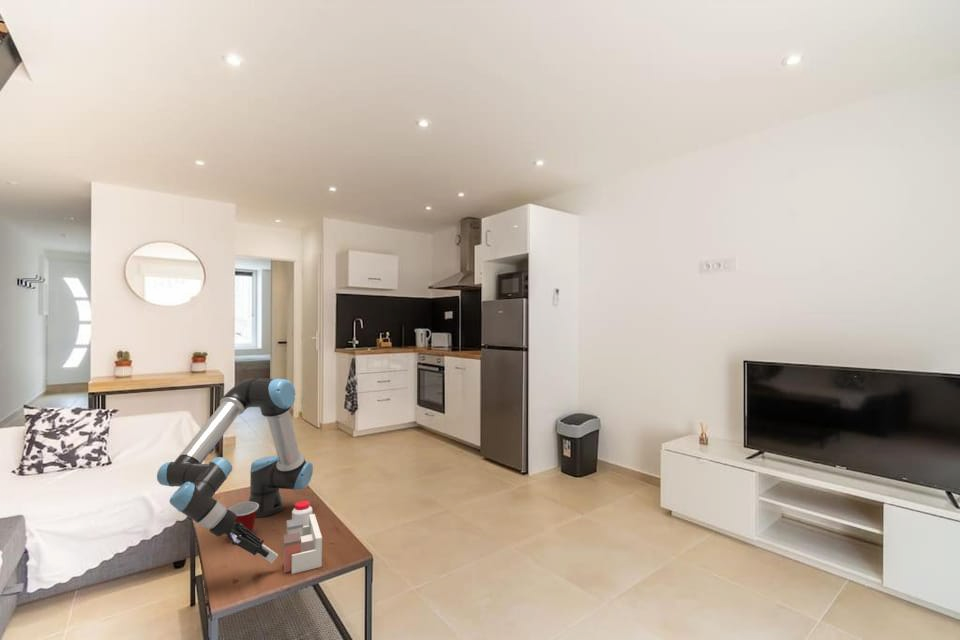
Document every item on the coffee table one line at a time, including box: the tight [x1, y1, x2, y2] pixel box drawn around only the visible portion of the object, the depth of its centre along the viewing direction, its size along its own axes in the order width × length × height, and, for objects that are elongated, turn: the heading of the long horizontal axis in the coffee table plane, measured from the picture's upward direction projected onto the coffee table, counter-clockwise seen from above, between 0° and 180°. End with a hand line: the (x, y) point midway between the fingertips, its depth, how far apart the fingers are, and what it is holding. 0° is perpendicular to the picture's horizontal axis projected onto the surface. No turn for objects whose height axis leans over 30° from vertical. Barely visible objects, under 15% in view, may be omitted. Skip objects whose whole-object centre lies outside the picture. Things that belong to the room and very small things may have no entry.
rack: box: [291, 513, 323, 575], centre depth 155 cm, size 21×10×10 cm, turn 28°
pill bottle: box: [291, 500, 313, 526], centre depth 174 cm, size 8×8×11 cm
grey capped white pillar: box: [286, 518, 303, 536], centre depth 159 cm, size 6×5×10 cm
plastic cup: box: [227, 501, 259, 533], centre depth 168 cm, size 11×11×12 cm
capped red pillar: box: [282, 532, 301, 573], centre depth 148 cm, size 6×5×10 cm
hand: (274, 558), depth 146 cm, fingers closed
